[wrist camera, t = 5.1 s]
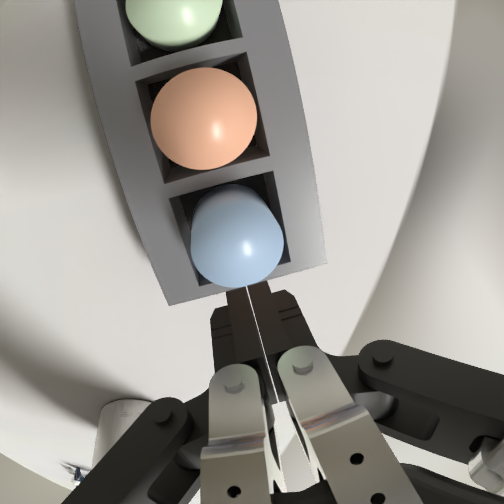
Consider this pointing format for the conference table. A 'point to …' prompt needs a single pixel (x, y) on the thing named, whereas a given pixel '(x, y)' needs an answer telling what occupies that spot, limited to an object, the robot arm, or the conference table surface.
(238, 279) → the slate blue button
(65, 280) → the conference table surface
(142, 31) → the sage button
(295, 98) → the tray
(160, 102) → the orange button
